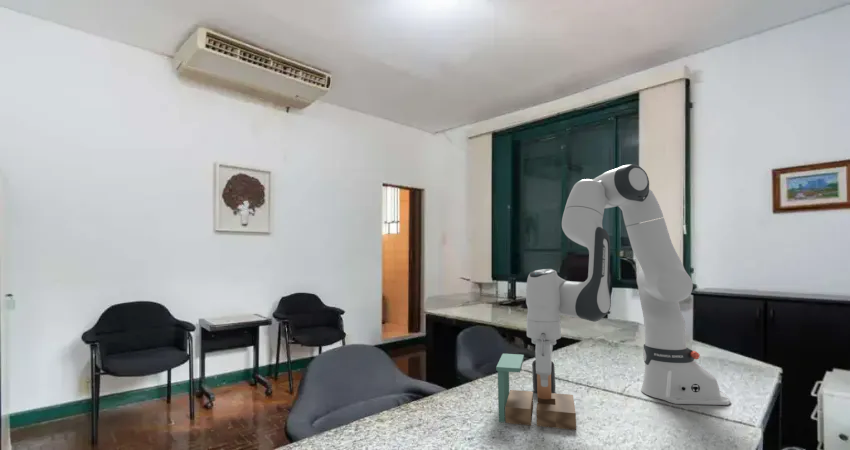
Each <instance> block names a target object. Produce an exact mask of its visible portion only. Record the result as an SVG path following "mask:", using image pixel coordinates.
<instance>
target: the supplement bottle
mask: <svg viewBox="0 0 850 450" xmlns="http://www.w3.org/2000/svg"><path fill="white" fill-rule="evenodd" d="M534 359H535V360H533V361H532V363H531V370H532V372H531V373H532V374H531V375H532V390H533V392H535V393H536V394H537V373H536V351H534ZM555 370H556V369H555V362H553V361H551V393H556V373H555V372H556V371H555Z"/></svg>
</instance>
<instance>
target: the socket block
mask: <svg viewBox="0 0 850 450" xmlns="http://www.w3.org/2000/svg"><path fill="white" fill-rule="evenodd" d="M551 397H552V398H551V399H541V398H538V397H537V403H536V409H535V411H536V412H535V413H536V414H535V415H536V427H541V426H542V427H544V428H553V429H563V430H572V431H577V416H576V415H577V414H576V405H575V399H574V395H573V394H569V393H568V394H567V393H566V394H565V393H556V392H554V393H551ZM533 411H534V391H530V390H518V389H517V390H516V389H509V396H508V399H507V403H506V406H505V423H506V424H510V425H511V424H513V425H521V426H523V425H525V426H532V421H533Z"/></svg>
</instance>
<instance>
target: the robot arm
mask: <svg viewBox="0 0 850 450" xmlns="http://www.w3.org/2000/svg"><path fill="white" fill-rule="evenodd" d="M615 207H618V208H619V209H620V210H621V211H622V217H623V222H624V226H625V229H626V231H627V235H628V239H629V242H630V243H629V244H630V246H631V249H632V252H633V254H634V255H635V257H636V259H637V261H638V264H639V266H640V268H641V269H640V271H638V273H637V275H636V285H637V288H638V294H639V301H640V305H641V309H642V310H641V311H642V316H643V317H642V318H643V329H644V344H643V349H642V350H643V351H642V352H643V361H644V374H643V381H642V384H641V387H640V391H641V392H642V393H643V394H644V395H647V396H650V397H652V398H655V399H659V400H663V401H666V402H669V403H671V404H674V405H675V404H676V405H710V406H711V405H714V406H716V405H717V406H718V405H719V406H720V405H722V406H725V405H726V406H729V405H730V403H731V399H730V398H729V396H728V395H727V394H726V393H724V392H723V391H721V390H720V386H719V383H718V381H717V378H716V377H715V376H714V375H713V374H712V373H711V372H709V371H708V370H707V369H706V368H704V367H703V366H702V365H700V364H699V363H698V362H696V361H695V360H699V358H701V357H700V356H701V355H700V354H699V352H697V351H696V350H693V349H692V348H691V349H690V348H688V347H687V336H686V335H687V334H686V333H687V331H686V321H685V318H684V316H683V313H682V310H681V307H680V302H682V301H684V300H686V299H687V298H688V297H690V295H691V293H692V291H693V287H694V283H693V280H692V278H691V277H690V274H688V272H687V271H686V269H685V266H684V264H683V263H682V260H681V259H680V255H678V252H677V250H676V249H675V247H674V244H673V242H672V240H671V236H670V233H669V230H668V227H667V223H666V221H665V217H664V215H663V211H662V209H661V206H660V204H659V202H658V199H657V198H656V196H655V194H654V193H653V191H652V190H651V189H650V178H649V176H648V174H647V172H646V171H645V169H643V168H642V167H641V166H639V164H638V165H637V164H635V163H633V164H631V163H630V164H625V165H621V166H619V167H616V168H614V169H610V170H608V171H605V172H603V173H602V174H600V175H598V176H596V177H594V178H591V179H590V178H586V179H585V178H584V179H581V180H579V181H577V182H575V183H574V185H573V186H572V188H571V191H570V192H569V195H568V197H567V200H566V204H565V207H564V211H563V214H562V218H561V228H562V231H563V233H564V235H565V236H566V238H568V239H570V241H572V242H574V243H576V244H578V245H579V246H582V247H584V248H587V250H588V254H589V256H588V273H587V278H586V279H585V281H572V280H571V281H570V280H566V279H564V278H562V277H560V276H559V275H558V272H557V271H556V270H555V269H552V268H543V269H536V270H533V271H531V272H529V274H528V276H527V279H526V286H525V287H526V288H525V304H526V307H527V313H526V337H527V338H529V339H531V344H534V345H535V352H536V358H535V360H536V373H537V374H539V375H540V378H541V386H542V387H547V386H548V375H551V361H552V356H553V355H552V354H553V347H554V346H555V345H556V344H557V340H559V339H561V338H562V331H561V330H562V326H561V324H562V323H561V322H562V321H561V320H562V319H561V316H565V317H570V318H571V317H572V318H579V319H582V320H585V321H590V322H598V321H600V320H601V319H603V318H604V317H606V316H607V314H609V311H610V310H611V304H612V299H611V291H610V266H611V264H610V263H611V260H610V259H611V241H610V236H609V233H608V231H607V230H606V229H605V228H603V218H604V213H605V210H606V209H611V208H615ZM552 362H553V361H552Z"/></svg>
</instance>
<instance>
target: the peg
mask: <svg viewBox="0 0 850 450" xmlns="http://www.w3.org/2000/svg"><path fill="white" fill-rule="evenodd" d="M536 394H537V399H538V398H541V399H551V398H552V397H551V375H548V386H547V387H542V386H541V378H540V375H539V374H537V393H536Z"/></svg>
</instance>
